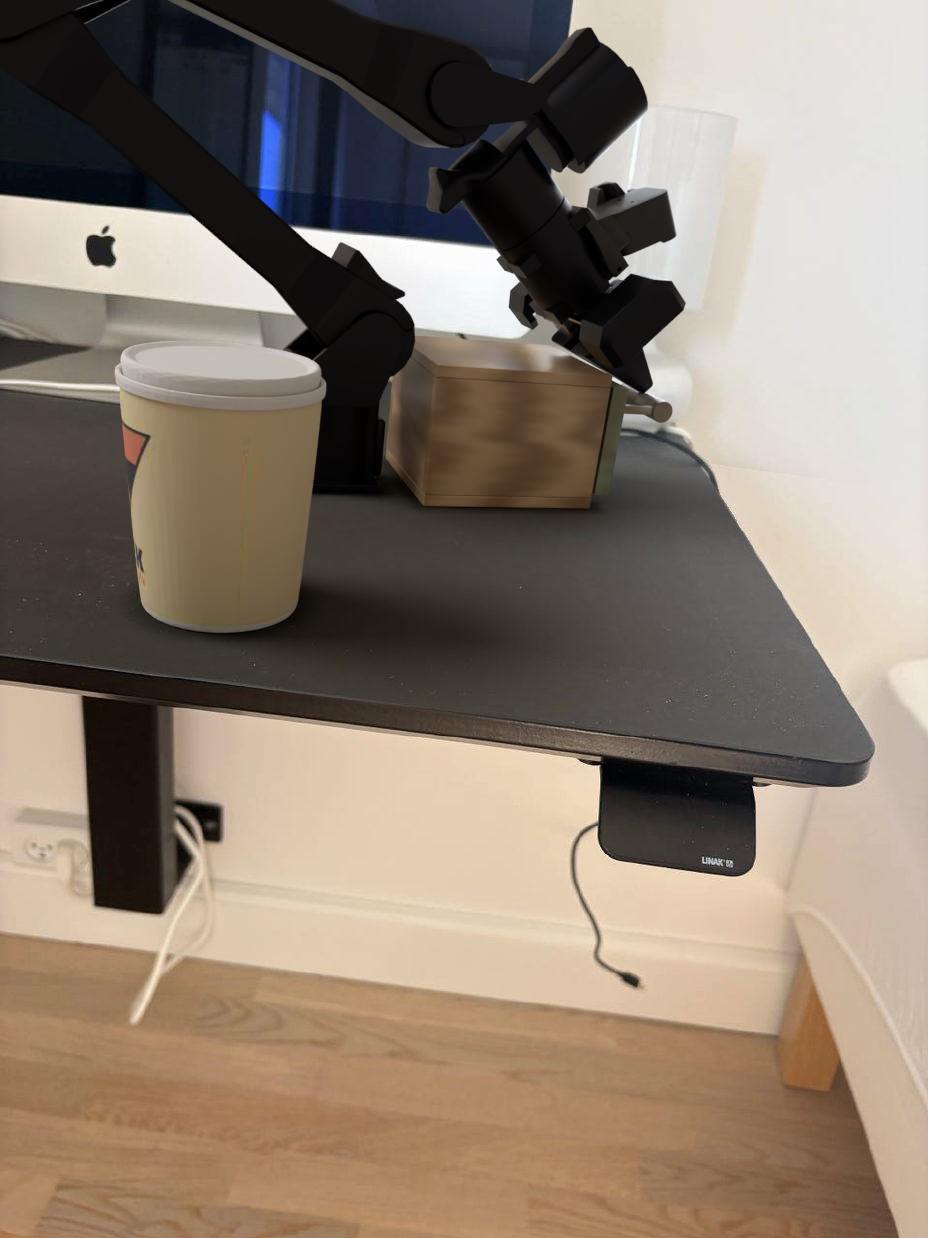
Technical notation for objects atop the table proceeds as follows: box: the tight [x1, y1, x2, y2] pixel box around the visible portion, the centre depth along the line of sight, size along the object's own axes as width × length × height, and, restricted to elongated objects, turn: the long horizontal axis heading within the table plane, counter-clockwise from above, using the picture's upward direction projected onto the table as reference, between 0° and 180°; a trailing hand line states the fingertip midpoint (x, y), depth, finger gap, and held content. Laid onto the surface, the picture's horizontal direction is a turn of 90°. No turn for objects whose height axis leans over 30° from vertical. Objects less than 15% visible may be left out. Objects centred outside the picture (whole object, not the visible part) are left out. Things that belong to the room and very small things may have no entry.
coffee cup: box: [114, 340, 326, 634], centre depth 46 cm, size 9×9×12 cm
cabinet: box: [385, 335, 614, 509], centre depth 71 cm, size 13×12×10 cm
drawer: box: [592, 380, 673, 496], centre depth 73 cm, size 16×10×8 cm, turn 107°
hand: (646, 388), depth 74 cm, fingers closed, pressing on drawer
